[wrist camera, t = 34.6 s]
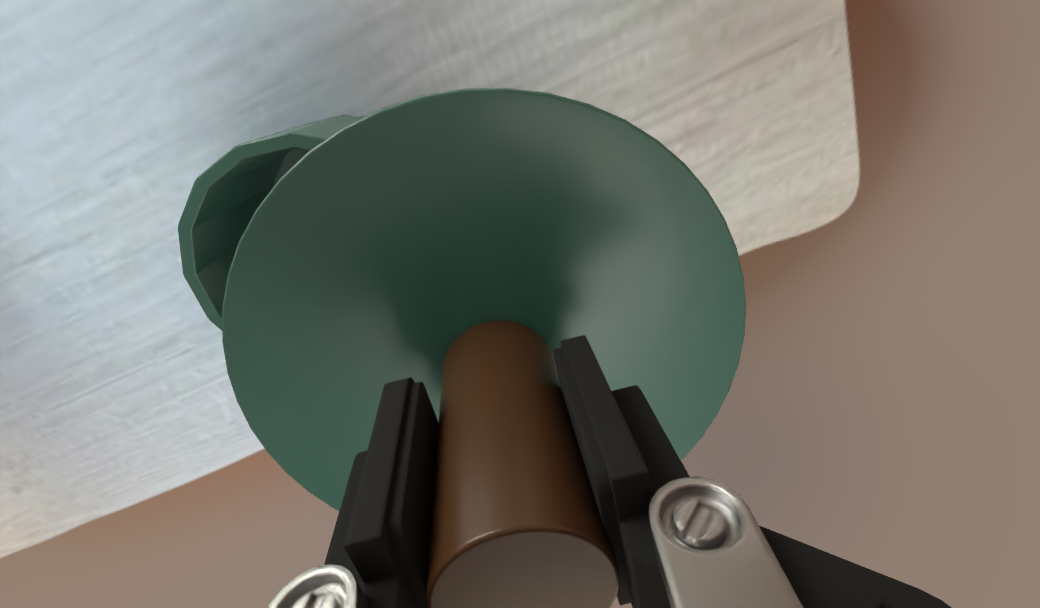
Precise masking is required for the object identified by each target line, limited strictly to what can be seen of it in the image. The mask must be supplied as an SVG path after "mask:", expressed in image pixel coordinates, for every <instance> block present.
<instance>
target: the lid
mask: <svg viewBox="0 0 1040 608" xmlns="http://www.w3.org/2000/svg"><path fill="white" fill-rule="evenodd" d="M745 318H746V300H745V288H744V278H743V273H742V269H741V265H740V261H739V256H738V252H737V248H736V245H735V243H734V241H733V238H732V236H731V233H730V231H729V228H728V226H727V224H726V221H725V219H724V217H723V215H722V214H721V212H720V210H719V209H718V207H717V205H716V204H715V202H714V201H713V199H712V197H711V196H710V194H709V192H708V191H707V189H706V188H705V187H704V186H703V185H702V183H701V182H700V181H699V180H698V179H697V178H696V176H695V175H694V174H693V173H692V172H691V170H690V169H689V168H688V167H687V166H686V165H685V163H683V162H682V161H681V160H680V159H679V158H678V157H676V156H675V155H674V154H673V153H672V152H671V151H670V150H668V149H667V148H666V147H665V146H664V145H663V144H661V143H660V142H659V141H658V140H657V139H655V138H653V137H652V136H650V135H649V134H647V133H645V132H644V131H642V130H641V129H639V128H637V127H636V126H634V125H633V124H631V123H629V122H628V121H626V120H624V119H622V118H620V117H618V116H615V115H613V114H611V113H608V112H606V111H604V110H601V109H599V108H597V107H595V106H592V105H590V104H587V103H583V102H580V101H576V100H572V99H568V98H565V97H561V96H557V95H554V94H550V93H546V92H538V91H529V90H521V89H513V88H468V89H459V90H453V91H447V92H441V93H435V94H429V95H423V96H420V97H417V98H414V99H411V100H408V101H405V102H401V103H398V104H395V105H392V106H389V107H386V108H383V109H381V110H379V111H377V112H375V113H373V114H371V115H369V116H366V117H364V118H362V119H360V120H358V121H356V122H354V123H352V124H350V125H348V126H346V127H344V128H342V129H341V130H339V131H338V132H336V133H335V134H334V135H332V136H331V137H329V138H328V139H326V140H325V141H323V142H322V143H321V144H319V145H318V146H316V147H315V148H313V149H312V150H310V151H309V152H308V153H307V154H306V155H305V156H304V157H303V158H302V159H300V160H299V161H298V162H297V163H296V164H295V165H294V166H293V167H292V168H291V169H290V170H289V171H288V172H287V173H286V174H285V175H284V176H283V177H282V178H280V180H279V181H278V182H277V183H276V185H275V186H274V187H273V189H272V190H271V191H270V193H269V194H268V195H267V196H266V198H265V199H264V200H263V202H262V203H261V204H260V206H259V207H258V208H257V210H256V211H255V213H254V215H253V217H252V219H251V221H250V223H249V224H248V226H247V228H246V230H245V232H244V234H243V236H242V238H241V239H240V241H239V244H238V247H237V250H236V253H235V256H234V259H233V262H232V264H231V267H230V270H229V273H228V278H227V284H226V290H225V296H224V302H223V347H224V353H225V359H226V365H227V371H228V375H229V378H230V381H231V384H232V387H233V390H234V393H235V396H236V399H237V402H238V404H239V406H240V408H241V410H242V412H243V414H244V416H245V418H246V420H247V422H248V424H249V426H250V428H251V429H252V431H253V432H254V434H255V435H256V436H257V438H258V439H259V441H260V442H261V444H262V445H263V446H264V448H265V449H266V451H267V452H268V453H269V454H270V455H271V456H272V458H273V459H274V460H275V461H276V462H277V463H278V464H279V465H280V466H281V467H282V469H284V471H285V472H286V473H287V474H288V475H289V476H291V477H292V478H293V479H294V480H295V481H297V482H298V483H299V484H300V485H301V486H303V487H304V488H305V489H306V490H307V491H308V492H310V493H311V494H313V495H314V496H316V497H317V498H319V499H320V500H322V501H323V502H325V503H326V504H328V505H329V506H331V507H332V508H334V509H336V510H338V511H340V508H341V504H342V500H343V497H344V493H345V490H346V486H347V483H348V479H349V476H350V472H351V469H352V465H353V461H354V459H355V457H356V455H357V454H358V453H359V452H363V451H367V450H368V446H369V442H370V438H371V434H372V431H373V427H374V423H375V419H376V415H377V411H378V407H379V403H380V399H381V395H382V391H383V387H384V385H385V384H386V383H389V382H393V381H397V380H402V379H406V378H410V377H411V378H412V379H413V380H414V382H415V383H417V382H423V384H424V386H425V388H426V391H427V393H428V396H429V399H430V401H431V404H432V407H433V409H434V412H435V415H436V417H437V420H438V423H439V425H438V439H437V453H436V467H435V481H434V494H433V508H432V522H431V536H430V550H429V564H428V578H427V592H426V601H427V607H428V608H610V607H611V606H612V605H613V603H614V601H615V598H616V596H617V592H618V588H619V579H620V575H619V568H618V564H617V561H616V558H615V555H614V552H613V548H612V546H611V544H610V542H609V541H608V539H607V537H606V534H605V530H604V527H603V524H602V521H601V517H600V514H599V511H598V508H597V504H596V501H595V498H594V495H593V491H592V488H591V485H590V482H589V478H588V475H587V472H586V469H585V465H584V462H583V459H582V456H581V452H580V449H579V446H578V443H577V439H576V436H575V433H574V430H573V426H572V423H571V420H570V417H569V413H568V410H567V407H566V404H565V400H564V397H563V394H562V390H561V387H560V382H559V378H558V373H557V369H556V364H555V360H554V355H553V349H557V348H561V340H566V339H570V338H574V337H578V336H582V335H585V336H586V337H587V339H588V342H589V344H590V346H591V348H592V350H593V352H594V355H595V357H596V359H597V361H598V363H599V365H600V368H601V370H602V372H603V374H604V376H605V378H606V380H607V383H608V385H609V387H610V389H611V391H613V390H617V389H621V388H626V387H630V386H634V385H637V386H639V388H640V389H641V391H642V392H643V394H644V396H645V398H646V400H647V401H648V403H649V405H650V407H651V408H652V410H653V412H654V414H655V416H656V417H657V419H658V421H659V423H660V425H661V426H662V428H663V430H664V432H665V434H666V435H667V437H668V439H669V441H670V442H671V444H672V446H673V448H674V450H675V451H676V453H677V455H678V457H679V459H680V460H681V461H682V460H683V459H684V458H685V457H686V456H687V454H688V453H689V452H690V451H691V450H692V449H693V447H694V446H695V445H696V444H697V443H698V441H699V440H700V439H701V438H702V437H703V435H704V434H705V432H706V430H707V429H708V427H709V426H710V424H711V423H712V421H713V420H714V418H715V417H716V415H717V414H718V412H719V410H720V408H721V405H722V404H723V402H724V400H725V398H726V396H727V394H728V392H729V390H730V387H731V384H732V381H733V378H734V376H735V373H736V370H737V367H738V364H739V360H740V355H741V350H742V345H743V340H744V333H745Z"/></svg>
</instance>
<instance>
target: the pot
mask: <svg viewBox="0 0 1040 608" xmlns="http://www.w3.org/2000/svg"><path fill="white" fill-rule="evenodd" d="M362 118H364V117H356V116H349V115H341V116H337V117H333V118H328V119H324V120H320V121H316V122H312V123H308V124H304V125H301V126H298V127H295V128H291V129H288V130H285V131H282V132H278V133H275V134H272V135H269V136H265V137H262V138H259V139H256V140H252V141H249V142H246V143H243V144H239V145H237V146H235V147H233V148H232V149H231V150H230V151H228V152H227V153H226V154H225V155H224V156H222V157H221V158H220V159H219V160H218V161H217V162H215V163H214V164H213V165H212V166H211V167H209V168H208V169H207V170H206V171H205V172H203V173H202V174H201V175H200V176H199V177H198V178H197V179H196V180H195V182H194V185H193V187H192V190H191V193H190V195H189V198H188V200H187V203H186V206H185V208H184V211H183V213H182V216H181V219H180V221H179V224H178V225H179V226H178V232H179V241H180V250H181V259H182V268H183V274H184V277H185V279H186V280H187V282H188V284H189V286H190V287H191V289H192V291H193V293H194V294H195V296H196V298H197V300H198V301H199V303H200V305H201V307H202V309H203V310H204V312H205V314H206V316H207V317H208V318H209V320H210V321H211V322H212V323H214V324H215V325H216V326H217V327H218V328H219V329H221V330H222V331H223V302H224V296H225V290H226V284H227V278H228V273H229V270H230V267H231V264H232V262H233V259H234V256H235V253H236V250H237V247H238V244H239V241H240V239H241V238H242V236H243V234H244V232H245V230H246V228H247V226H248V224H249V223H250V221H251V219H252V217H253V215H254V213H255V211H256V210H257V208H258V207H259V206H260V204H261V203H262V202H263V200H264V199H265V198H266V196H267V195H268V194H269V193H270V191H271V190H272V189H273V187H274V186H275V185H276V183H277V182H278V181H279V180H280V178H282V177H283V176H284V175H285V174H286V173H287V172H288V171H289V170H290V169H291V168H292V167H293V166H294V165H295V164H296V163H297V162H298V161H299V160H300V159H302V158H303V157H304V156H305V155H306V154H307V153H308V152H309V151H310V150H312V149H313V148H315V147H316V146H318V145H319V144H321V143H322V142H323V141H325V140H326V139H328V138H329V137H331V136H332V135H334V134H335V133H336V132H338V131H339V130H341V129H342V128H344V127H346V126H348V125H350V124H352V123H354V122H356V121H358V120H360V119H362Z"/></svg>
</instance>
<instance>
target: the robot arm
mask: <svg viewBox="0 0 1040 608" xmlns="http://www.w3.org/2000/svg"><path fill="white" fill-rule="evenodd" d="M553 355H554V360H555V364H556V369H557V373H558V378H559V382H560V387H561V390H562V394H563V397H564V400H565V404H566V407H567V410H568V413H569V417H570V420H571V423H572V426H573V430H574V433H575V436H576V439H577V443H578V446H579V449H580V452H581V456H582V459H583V462H584V465H585V469H586V472H587V475H588V478H589V482H590V485H591V488H592V491H593V495H594V498H595V501H596V504H597V508H598V511H599V514H600V517H601V521H602V524H603V527H604V530H605V534H606V537H607V539H608V541H609V542H610V544H611V546H612V548H613V552H614V555H615V558H616V561H617V564H618V568H619V575H620V579H619V588H618V592H617V598H618V601H619V604H620V605H624V604H628V603H631V604H632V607H633V608H951V607H950V606H948V605H947V604H946V603H944V602H943V601H942V600H940V599H938V598H936V597H934V596H932V595H930V594H928V593H926V592H924V591H922V590H920V589H918V588H915V587H913V586H910V585H908V584H905V583H903V582H900V581H898V580H895V579H893V578H890V577H888V576H885V575H882V574H880V573H877V572H875V571H872V570H870V569H867V568H865V567H862V566H860V565H857V564H855V563H852V562H850V561H847V560H844V559H842V558H839V557H837V556H834V555H832V554H829V553H827V552H824V551H822V550H819V549H817V548H814V547H812V546H809V545H807V544H804V543H802V542H799V541H797V540H794V539H792V538H789V537H786V536H784V535H781V534H779V533H776V532H774V531H771V530H769V529H766V528H764V527H761V526H759V525H758V523H757V522H756V520H755V518H754V516H753V514H752V513H751V510H750V508H749V507H748V505H747V504H746V503H745V501H744V500H743V499H742V497H741V496H740V495H739V494H738V493H736V492H735V491H734V490H732V489H731V488H730V487H728V486H727V485H725V484H722V483H720V482H718V481H715V480H713V479H708V478H702V477H690V476H689V475H688V474H687V471H686V469H685V468H684V466H683V464H682V462H681V460H680V459H679V457H678V455H677V453H676V451H675V450H674V448H673V446H672V444H671V442H670V441H669V439H668V437H667V435H666V434H665V432H664V430H663V428H662V426H661V425H660V423H659V421H658V419H657V417H656V416H655V414H654V412H653V410H652V408H651V407H650V405H649V403H648V401H647V400H646V398H645V396H644V394H643V392H642V391H641V389H640V388H639V386H637V385H634V386H630V387H626V388H621V389H617V390H613V391H611V389H610V387H609V385H608V383H607V380H606V378H605V376H604V374H603V372H602V370H601V368H600V365H599V363H598V361H597V359H596V357H595V355H594V352H593V350H592V348H591V346H590V344H589V342H588V339H587V337H586V336H585V335H582V336H578V337H574V338H570V339H566V340H561V348H557V349H553ZM438 425H439V423H438V420H437V417H436V415H435V412H434V409H433V407H432V404H431V401H430V399H429V396H428V393H427V391H426V388H425V386H424V384H423V382H417V383H415V382H414V380H413V379H412V378H411V377H410V378H406V379H402V380H397V381H393V382H389V383H386V384H385V385H384V387H383V391H382V395H381V399H380V403H379V407H378V411H377V415H376V419H375V423H374V427H373V431H372V434H371V438H370V442H369V446H368V450H367V451H363V452H359V453H358V454H357V455H356V457H355V459H354V461H353V465H352V469H351V472H350V476H349V479H348V483H347V486H346V490H345V493H344V497H343V500H342V504H341V508H340V511H339V515H338V518H337V522H336V525H335V529H334V533H333V536H332V539H331V543H330V547H329V550H328V554H327V557H326V561H325V564H324V566H318V567H315V568H313V569H311V570H308V571H306V572H304V573H302V574H301V575H299V576H298V577H296V578H295V579H294V580H292V581H291V582H289V584H287V585H286V586H285V587H284V588H283V589H282V590H281V591H280V592H279V593H278V594H277V595H276V597H275V598H274V600H273V601H272V602H271V604H270V605H269V607H268V608H428V607H427V601H426V592H427V578H428V564H429V550H430V536H431V522H432V508H433V494H434V481H435V467H436V453H437V439H438Z"/></svg>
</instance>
